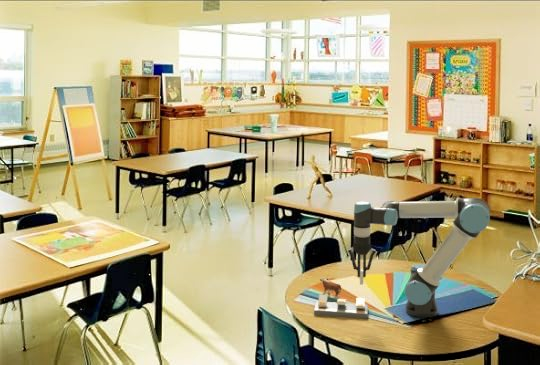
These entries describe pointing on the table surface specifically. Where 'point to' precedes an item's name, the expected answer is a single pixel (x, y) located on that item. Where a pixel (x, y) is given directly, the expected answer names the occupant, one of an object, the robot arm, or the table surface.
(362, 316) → the switch panel
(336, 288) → the bull figurine
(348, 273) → the table surface
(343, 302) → the switch middle
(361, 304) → the switch
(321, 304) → the switch
